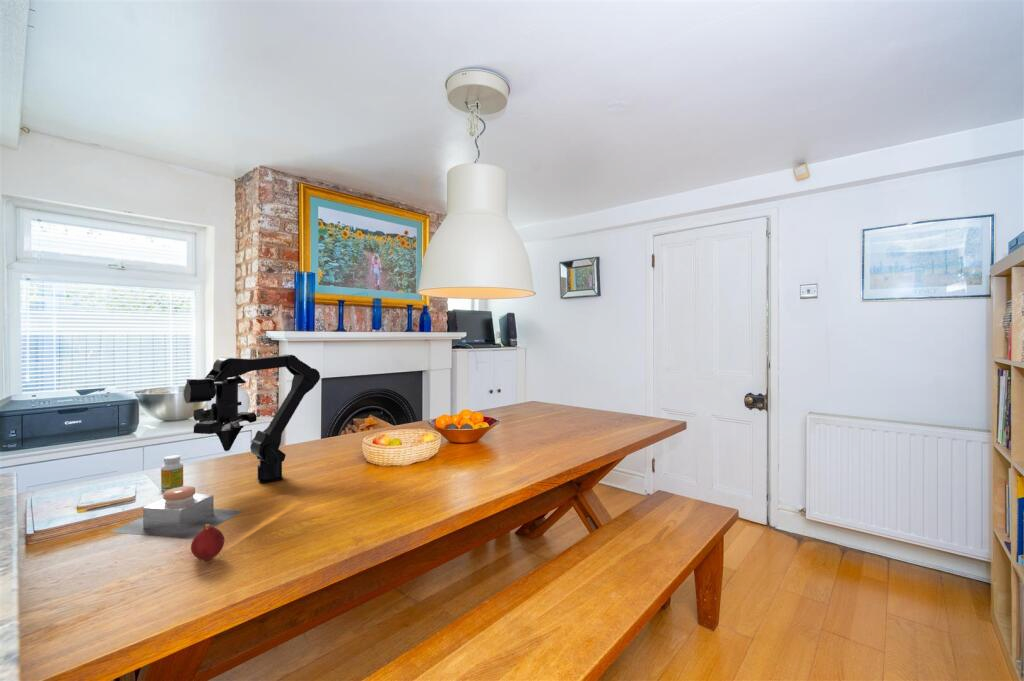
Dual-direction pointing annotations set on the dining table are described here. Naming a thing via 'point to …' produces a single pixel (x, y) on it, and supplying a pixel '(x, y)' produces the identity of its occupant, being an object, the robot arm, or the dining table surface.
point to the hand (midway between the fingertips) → (227, 450)
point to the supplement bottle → (171, 473)
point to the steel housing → (178, 513)
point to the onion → (207, 543)
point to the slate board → (186, 533)
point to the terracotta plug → (179, 495)
